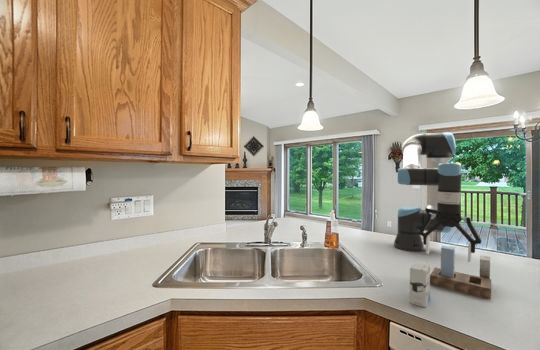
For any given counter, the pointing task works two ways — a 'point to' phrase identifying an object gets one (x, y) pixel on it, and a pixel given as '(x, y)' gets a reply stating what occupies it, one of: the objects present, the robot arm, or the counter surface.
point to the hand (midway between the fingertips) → (447, 256)
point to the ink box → (420, 284)
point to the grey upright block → (485, 267)
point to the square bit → (447, 261)
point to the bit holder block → (462, 283)
